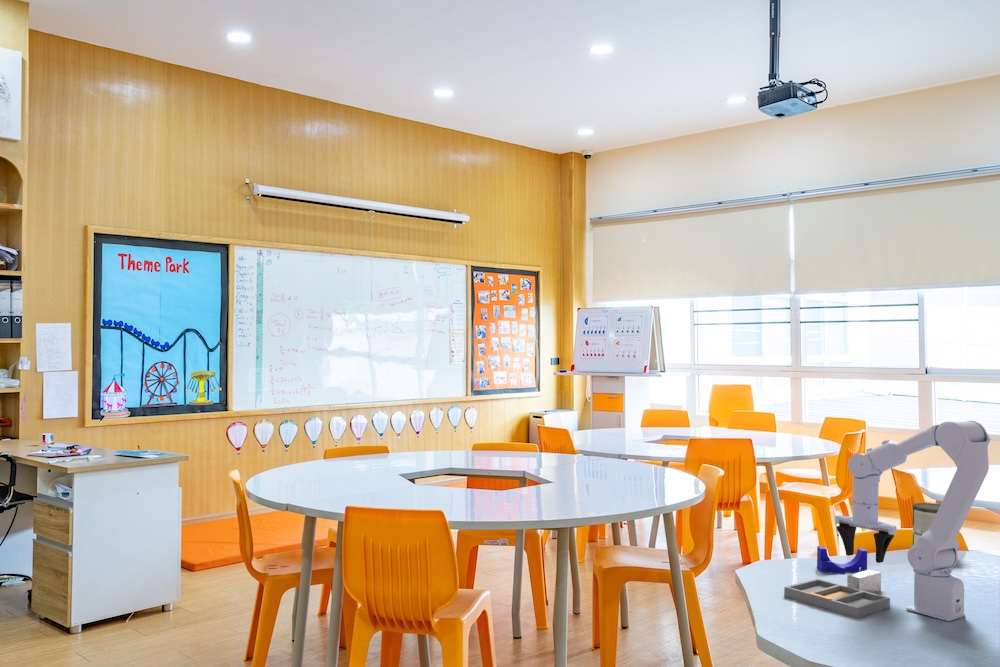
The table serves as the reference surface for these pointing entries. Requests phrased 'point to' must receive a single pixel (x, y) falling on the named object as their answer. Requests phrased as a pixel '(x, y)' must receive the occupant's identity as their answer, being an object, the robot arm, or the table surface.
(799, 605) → the table surface
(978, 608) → the table surface
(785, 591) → the bay rack
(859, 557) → the blue arch block
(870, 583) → the light grey rectangular block
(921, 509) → the coffee can
